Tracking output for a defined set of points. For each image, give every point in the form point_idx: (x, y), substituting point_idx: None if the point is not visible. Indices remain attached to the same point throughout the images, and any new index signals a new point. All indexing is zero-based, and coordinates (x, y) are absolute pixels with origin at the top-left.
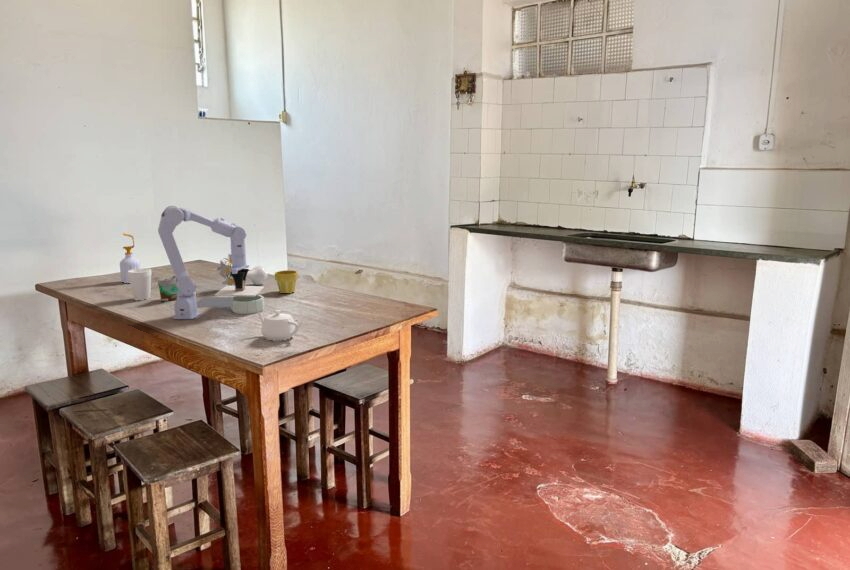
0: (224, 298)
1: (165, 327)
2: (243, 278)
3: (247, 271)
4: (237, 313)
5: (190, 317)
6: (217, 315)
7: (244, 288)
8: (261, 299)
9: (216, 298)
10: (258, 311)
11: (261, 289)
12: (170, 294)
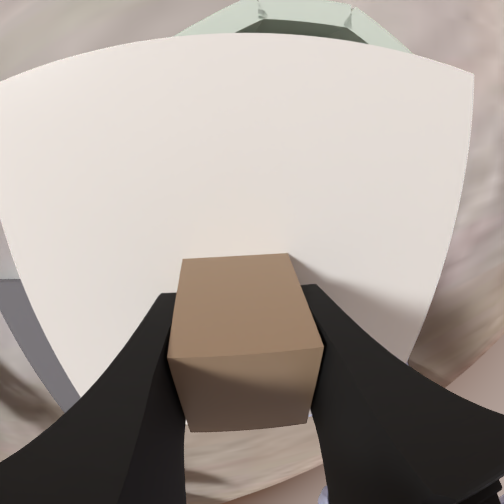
0: (44, 357)
1: (458, 369)
2: (161, 398)
3: (68, 500)
4: None
5: (406, 363)
6: None
7: (210, 267)
8: (357, 9)
9: (59, 382)
10: None
11: (105, 50)
12: None
